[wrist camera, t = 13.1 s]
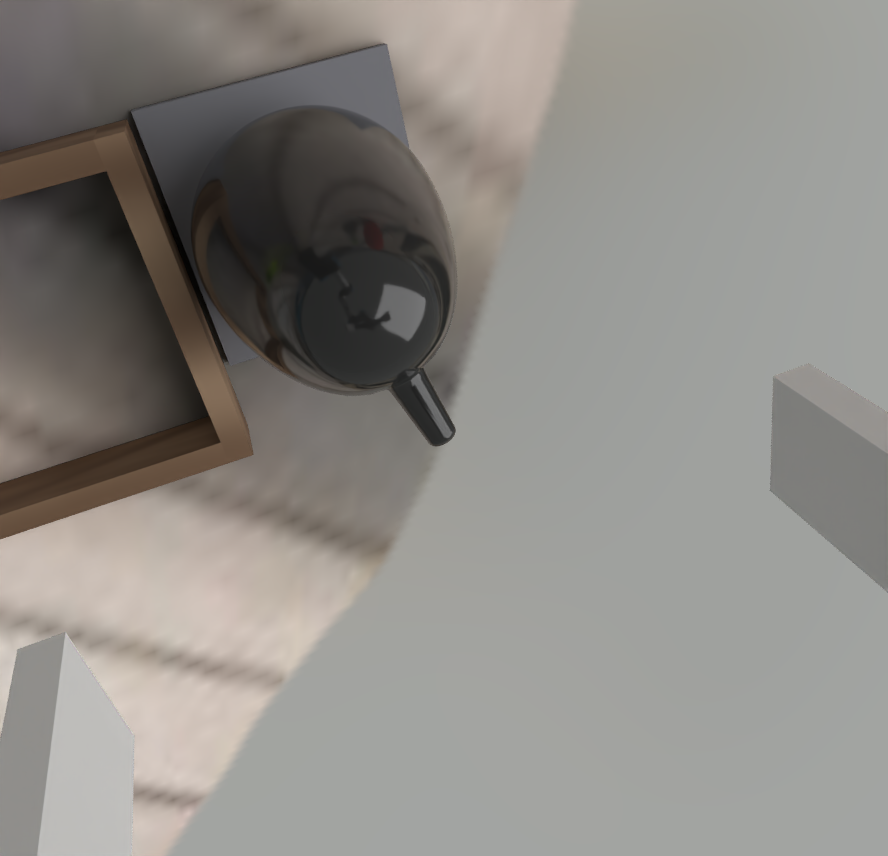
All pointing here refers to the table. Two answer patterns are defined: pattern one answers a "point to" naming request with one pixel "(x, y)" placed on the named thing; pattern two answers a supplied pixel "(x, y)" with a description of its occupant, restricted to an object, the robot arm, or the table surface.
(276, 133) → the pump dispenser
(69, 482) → the frame
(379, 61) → the rubber mat
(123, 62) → the table surface
